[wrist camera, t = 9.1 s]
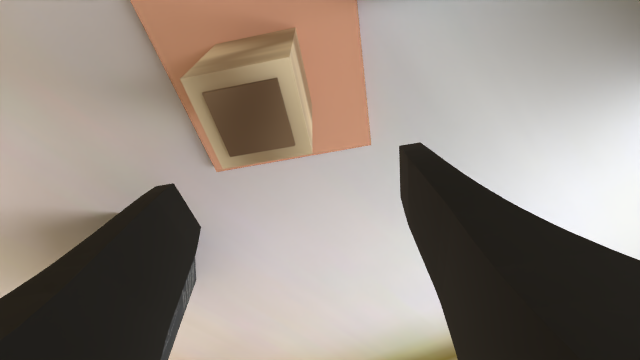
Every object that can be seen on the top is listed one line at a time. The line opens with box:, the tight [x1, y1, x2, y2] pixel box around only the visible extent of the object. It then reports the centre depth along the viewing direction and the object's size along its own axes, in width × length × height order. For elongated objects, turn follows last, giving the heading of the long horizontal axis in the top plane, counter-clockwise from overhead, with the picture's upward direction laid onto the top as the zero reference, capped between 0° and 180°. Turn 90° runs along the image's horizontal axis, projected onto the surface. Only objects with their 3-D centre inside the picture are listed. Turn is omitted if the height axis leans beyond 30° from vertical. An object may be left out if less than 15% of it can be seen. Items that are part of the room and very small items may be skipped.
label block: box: [180, 27, 312, 169], centre depth 13 cm, size 4×4×5 cm
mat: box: [130, 0, 371, 172], centre depth 16 cm, size 10×10×1 cm
